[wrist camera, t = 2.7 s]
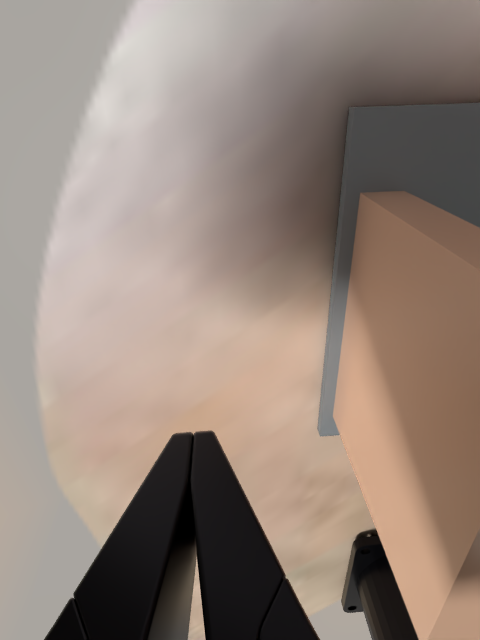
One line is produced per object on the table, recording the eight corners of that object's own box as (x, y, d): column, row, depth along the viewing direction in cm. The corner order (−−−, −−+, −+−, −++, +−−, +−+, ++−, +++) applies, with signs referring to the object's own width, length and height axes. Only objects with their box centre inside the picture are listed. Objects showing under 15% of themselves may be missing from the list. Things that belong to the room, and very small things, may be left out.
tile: (368, 413, 14) (483, 643, 8) (332, 416, 14) (422, 649, 8) (410, 190, 10) (687, 322, 4) (360, 192, 10) (572, 329, 4)
